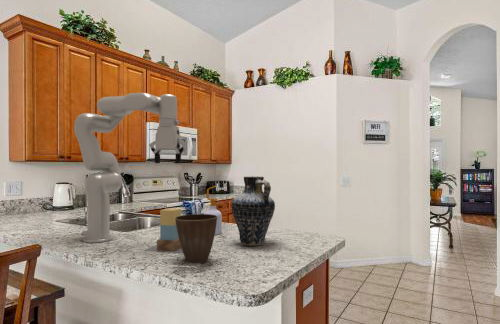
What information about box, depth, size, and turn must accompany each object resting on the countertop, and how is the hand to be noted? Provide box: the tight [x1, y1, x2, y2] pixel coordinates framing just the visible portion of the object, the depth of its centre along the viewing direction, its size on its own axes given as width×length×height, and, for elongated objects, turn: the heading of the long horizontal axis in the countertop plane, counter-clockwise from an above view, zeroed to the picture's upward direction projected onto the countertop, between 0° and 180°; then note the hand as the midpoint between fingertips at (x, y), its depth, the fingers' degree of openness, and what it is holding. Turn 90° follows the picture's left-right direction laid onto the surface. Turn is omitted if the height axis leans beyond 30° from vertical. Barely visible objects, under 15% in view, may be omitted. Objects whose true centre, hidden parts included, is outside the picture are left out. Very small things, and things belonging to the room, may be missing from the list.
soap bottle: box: [204, 185, 223, 236], centre depth 166 cm, size 9×9×25 cm
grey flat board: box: [143, 244, 183, 254], centre depth 132 cm, size 18×12×1 cm, turn 76°
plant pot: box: [175, 213, 217, 265], centre depth 116 cm, size 15×15×16 cm
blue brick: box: [159, 224, 179, 241], centre depth 133 cm, size 6×6×6 cm
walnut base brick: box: [156, 238, 181, 251], centre depth 132 cm, size 8×8×4 cm
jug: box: [230, 175, 276, 246], centre depth 143 cm, size 21×19×30 cm
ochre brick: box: [159, 207, 182, 226], centre depth 133 cm, size 6×6×6 cm
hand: (167, 163), depth 139 cm, fingers open, 9 cm apart
